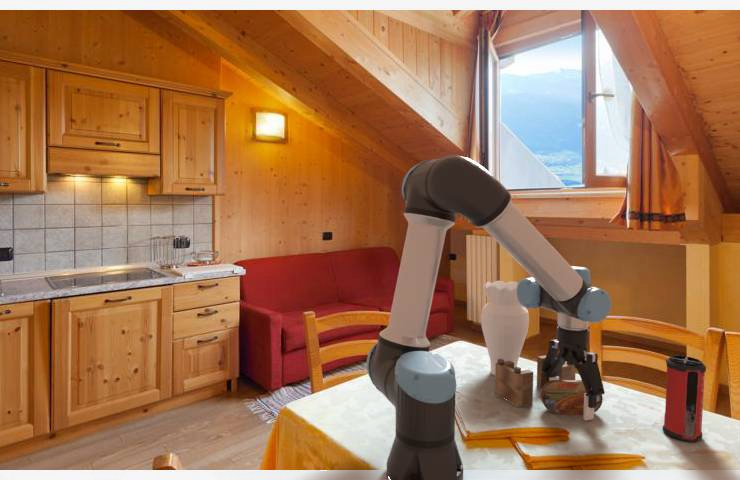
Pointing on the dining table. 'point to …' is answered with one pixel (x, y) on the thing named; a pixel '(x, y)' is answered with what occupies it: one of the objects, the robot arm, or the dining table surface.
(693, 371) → the speaker
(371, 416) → the dining table surface
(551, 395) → the tin
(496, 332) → the vase
